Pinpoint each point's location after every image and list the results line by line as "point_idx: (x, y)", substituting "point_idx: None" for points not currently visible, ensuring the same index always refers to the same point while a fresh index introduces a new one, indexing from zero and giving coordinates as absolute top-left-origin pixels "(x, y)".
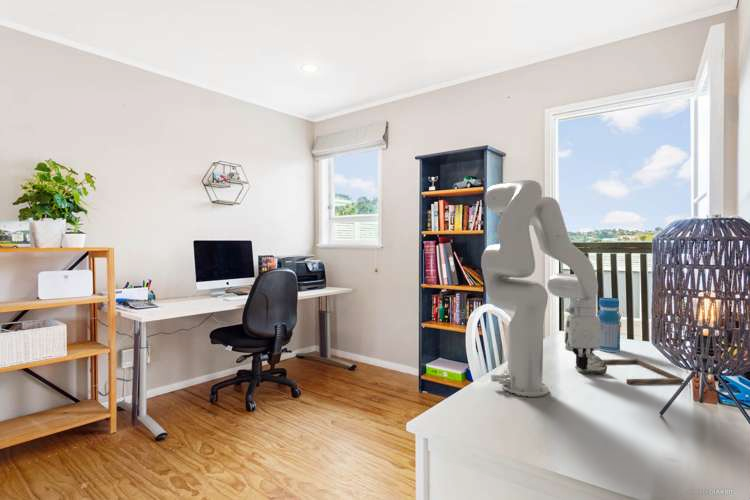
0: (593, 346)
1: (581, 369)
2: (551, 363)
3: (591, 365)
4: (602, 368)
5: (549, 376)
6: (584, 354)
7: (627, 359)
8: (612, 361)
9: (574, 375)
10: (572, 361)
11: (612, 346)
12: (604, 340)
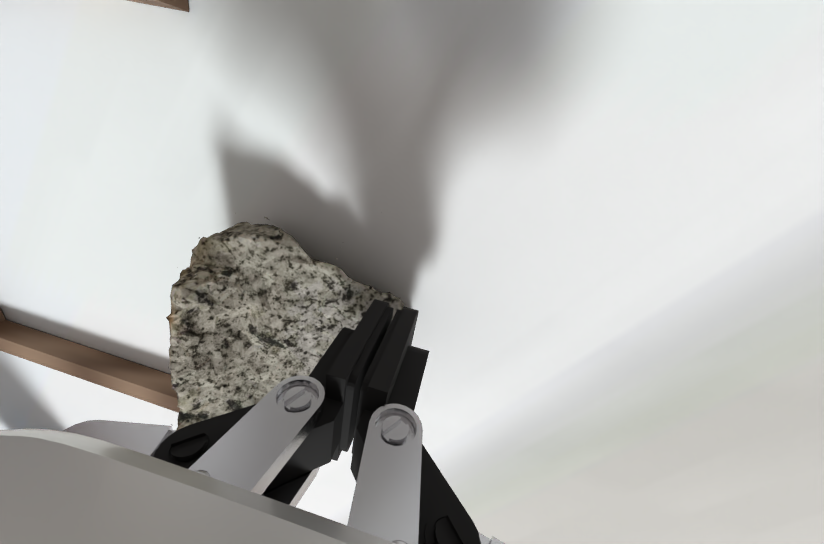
0: (97, 488)
1: None
2: None
3: (293, 331)
4: (244, 251)
5: (733, 352)
6: (325, 425)
7: (19, 353)
8: (106, 368)
9: (491, 299)
10: None
11: None
12: None
